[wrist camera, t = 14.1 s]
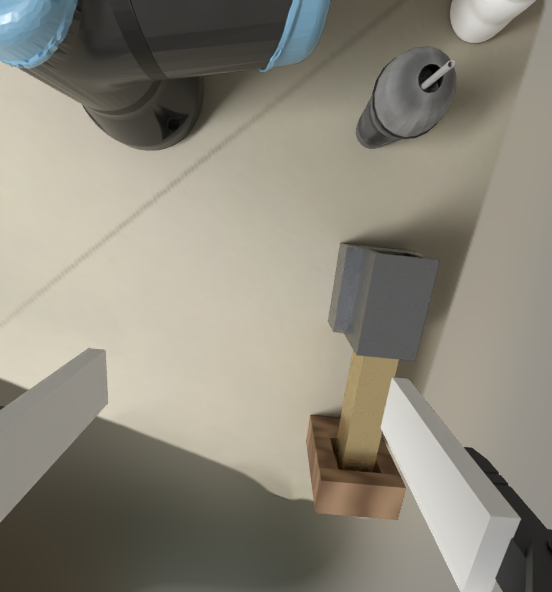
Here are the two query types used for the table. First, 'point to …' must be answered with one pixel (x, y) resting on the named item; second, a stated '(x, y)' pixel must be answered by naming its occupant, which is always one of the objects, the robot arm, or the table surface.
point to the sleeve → (381, 299)
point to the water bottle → (483, 17)
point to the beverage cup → (408, 97)
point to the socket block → (351, 478)
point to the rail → (363, 412)
